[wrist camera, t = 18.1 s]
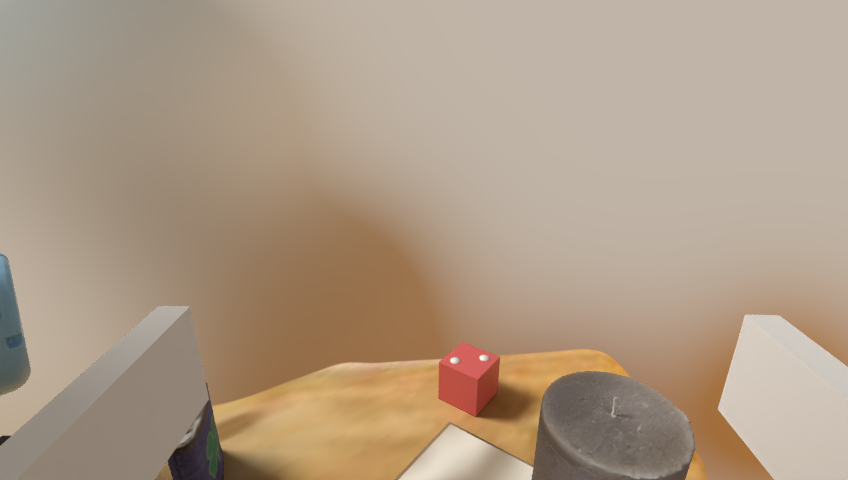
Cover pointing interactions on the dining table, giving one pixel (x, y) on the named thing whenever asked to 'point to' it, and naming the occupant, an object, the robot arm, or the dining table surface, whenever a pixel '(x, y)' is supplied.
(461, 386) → the red die
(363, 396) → the dining table surface
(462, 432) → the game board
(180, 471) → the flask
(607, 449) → the pillar candle
